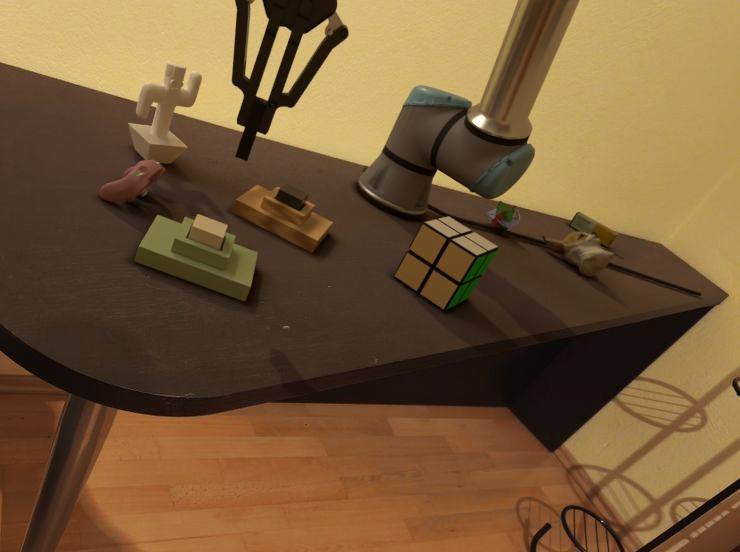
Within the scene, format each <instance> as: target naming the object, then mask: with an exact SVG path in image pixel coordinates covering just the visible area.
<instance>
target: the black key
mask: <svg viewBox="0 0 740 552" xmlns="http://www.w3.org/2000/svg"><path fill="white" fill-rule="evenodd" d="M309 195H310V194H309V193H307V192H305V191H303V190H301V189H299V188H297V187H295V186H293V185H291V184H289V183H287V182H286V183H285V184H284V185H282V186H281V187H280V189H279V190H278V193H277V195H276V198H275V199H276V200H278V201H280V202H282V203H284V204H286V205H288V206H290V207H292V208H294V209H296V210H298V211H299V210H300V209H301V208H302V207H303V206H304V205H305V203H306V201H308V197H310V196H309Z"/></svg>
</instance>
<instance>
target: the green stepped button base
mask: <svg viewBox="0 0 740 552" xmlns="http://www.w3.org/2000/svg"><path fill="white" fill-rule="evenodd" d="M194 221H195V219H192V218H190V217H187V216H185V217H184V218H183V221H182V222H181V223H180V222H178V221H175V220H173V219H170V218H168V217H165V216H163V215H160V214H157V215H156V216H155V218H154V220H153V221H152V223H151V225H150V226H149V228H148V230H147V231H146V233H145V235H144V236H143V238H142V240H141V242H140V243H139V245H138V247H137V251H136V254H135V258H134V262H135V263H138V264H139V265H140V264H141V265H144V266H146V267H148V268H151V269H153V270H157V271H160V272H163V273H165V274H168V275H170V276H172V277H176V278H179V279H181V280H184V281H187V282H190V283H193V284H195V285H197V286H201V287H204V288H205V289H209V290H212V291H215V292H217V293H221V294H223V295H225V296H228V297H231V298H233V299H237V300H240V301H241V302H246V301H247V298H248V296H249V293H250V291H251V288H252V284H253V281H254V280H253V279H254V275H255V270H256V269H255V268H256V265H257V260H258V255H259V252H258V251H256V250H253V249H249V248H247V247H245V246H242V245H239V244H236V243H235V241H236V239H237V235H234V234H232V233H229V232H227V231H226V233H225V236H224V239H223V242H222V244H221V247H220V250H217V249H214V248H211V247H209V246H206V245H203V244H201V243H198V242H195V241H193V240H190V239H188V237H189V234H190V231H191V228H192V225H193V223H194Z"/></svg>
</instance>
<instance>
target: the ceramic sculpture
mask: <svg viewBox="0 0 740 552" xmlns="http://www.w3.org/2000/svg"><path fill="white" fill-rule="evenodd" d="M541 238H542V241H545V243H546V245H547V246H546V247H547V248H549V250H550V251H552V252H553V253H555V254H558V255H560V256H561V258H562V259H563V260H564V261H565V262H567V263H568V264H569V265H571V266H574V267H575V266H576V267H578V268H579V273H580V274H581V275H583V276H585V277H588V278H589V277H592V276H593V277H594V276H597V274H599V273H601V271H603V270H604V269H606V267H607V266H608V264H609V262H611V261H612V260H613V258H614V257H615V252H611V251H608V250H607V251H606V250H604V249H603V248H602V247H601V241H600V238H599V236H598V235H597V234H596V233H595V232H592V233H590V234H589V235H588V234H587V233H584V232H580V231H579V230H576V231H573V232H570V233H568V234H567V235H566V236H565V237H564V239H563V240H558V239H557V238H549V237H547V236H545V235H543V234H542V235H541Z"/></svg>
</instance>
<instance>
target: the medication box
mask: <svg viewBox="0 0 740 552" xmlns="http://www.w3.org/2000/svg"><path fill="white" fill-rule="evenodd" d="M568 226H570V227H571V228H573V229H575V230H576V231H579V232H584V233H587V234H588V235H589V234H590V233H592V232H595V233H596V234H597V235H598V236H599V238H600V241H601V243H600V245H603V246H604V247H606V248H610V247H611V246H612V244H613V243H614V242H615V240H616V238H617V237H618V236H619V232H617V231H615V230H613V229H611V228H610V227H608V226H606V225H604V224H602V223H601V222H599V221H597V220H595V219H594V218H592V217H590V216H588V215H586V214H584V213H582V212H581V211H577V212H575V214H574V216H573V217H572V219H571V221H569V223H568Z"/></svg>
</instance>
